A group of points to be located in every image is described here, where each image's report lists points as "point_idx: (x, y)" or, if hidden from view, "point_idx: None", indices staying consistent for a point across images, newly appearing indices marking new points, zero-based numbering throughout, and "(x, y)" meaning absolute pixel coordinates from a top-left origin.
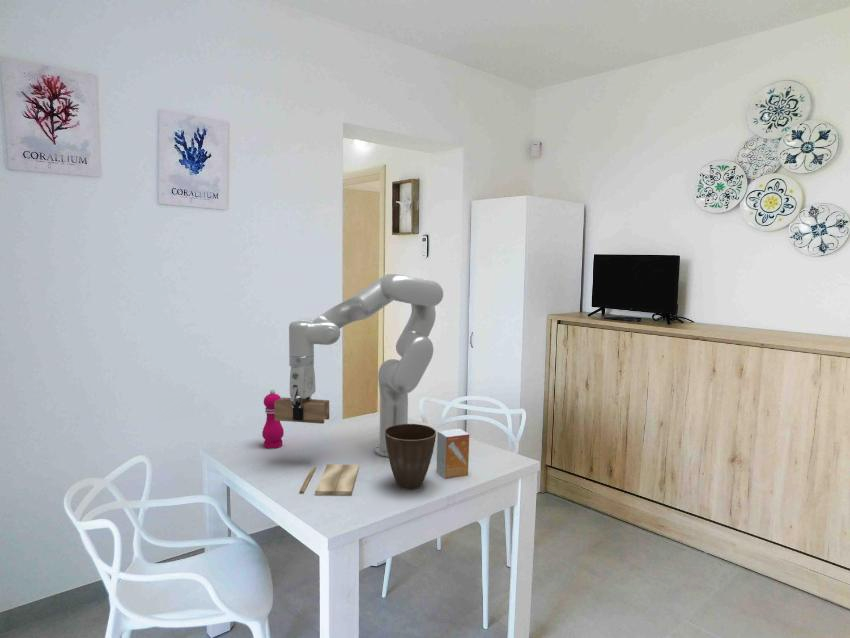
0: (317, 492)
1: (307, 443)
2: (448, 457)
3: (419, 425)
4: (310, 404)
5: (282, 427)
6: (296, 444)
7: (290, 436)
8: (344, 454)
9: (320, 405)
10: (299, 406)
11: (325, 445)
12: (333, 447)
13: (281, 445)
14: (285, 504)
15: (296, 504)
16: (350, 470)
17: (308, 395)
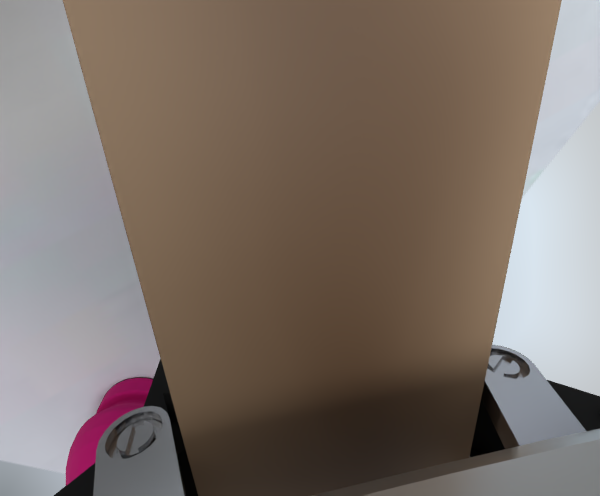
0: None
1: (40, 315)
2: None
3: None
4: (496, 272)
5: (83, 448)
6: (79, 345)
7: (3, 413)
8: (81, 82)
9: (533, 51)
10: (528, 373)
11: (14, 231)
12: (17, 182)
13: (131, 380)
14: (586, 104)
15: (589, 67)
16: None
17: (573, 486)
